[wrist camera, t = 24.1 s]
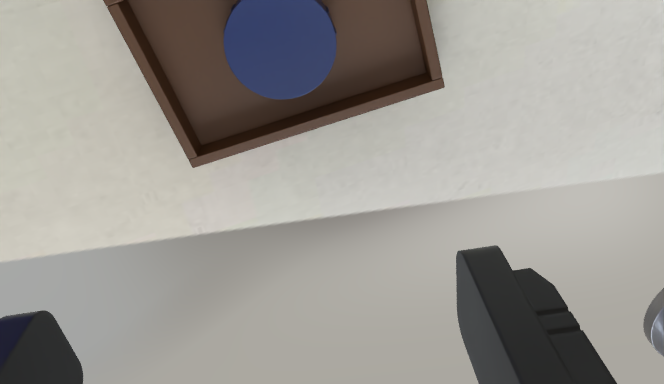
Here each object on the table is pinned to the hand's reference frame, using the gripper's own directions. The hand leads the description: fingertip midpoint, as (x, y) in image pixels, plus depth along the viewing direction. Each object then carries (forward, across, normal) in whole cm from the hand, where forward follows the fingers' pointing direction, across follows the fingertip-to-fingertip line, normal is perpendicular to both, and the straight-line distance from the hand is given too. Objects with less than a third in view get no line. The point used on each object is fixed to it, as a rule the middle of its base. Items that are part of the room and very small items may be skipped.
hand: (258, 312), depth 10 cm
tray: (+22, 0, 0) cm, 22 cm away
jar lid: (+19, 0, 0) cm, 19 cm away
